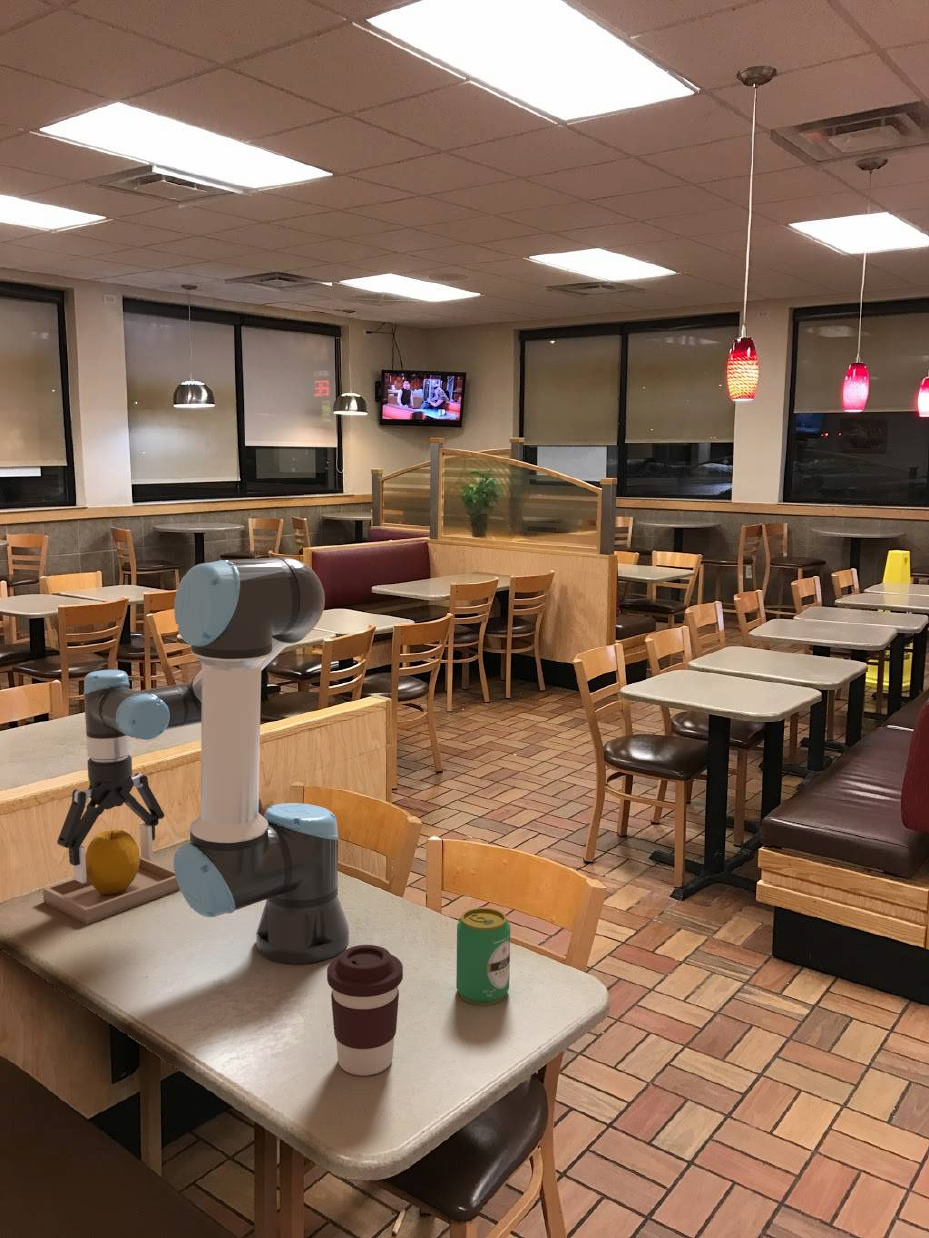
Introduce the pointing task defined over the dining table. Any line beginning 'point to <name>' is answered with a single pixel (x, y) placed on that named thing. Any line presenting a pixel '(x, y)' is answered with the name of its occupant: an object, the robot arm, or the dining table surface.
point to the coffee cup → (365, 1007)
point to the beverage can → (483, 956)
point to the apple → (112, 861)
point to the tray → (95, 906)
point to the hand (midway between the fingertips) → (114, 869)
